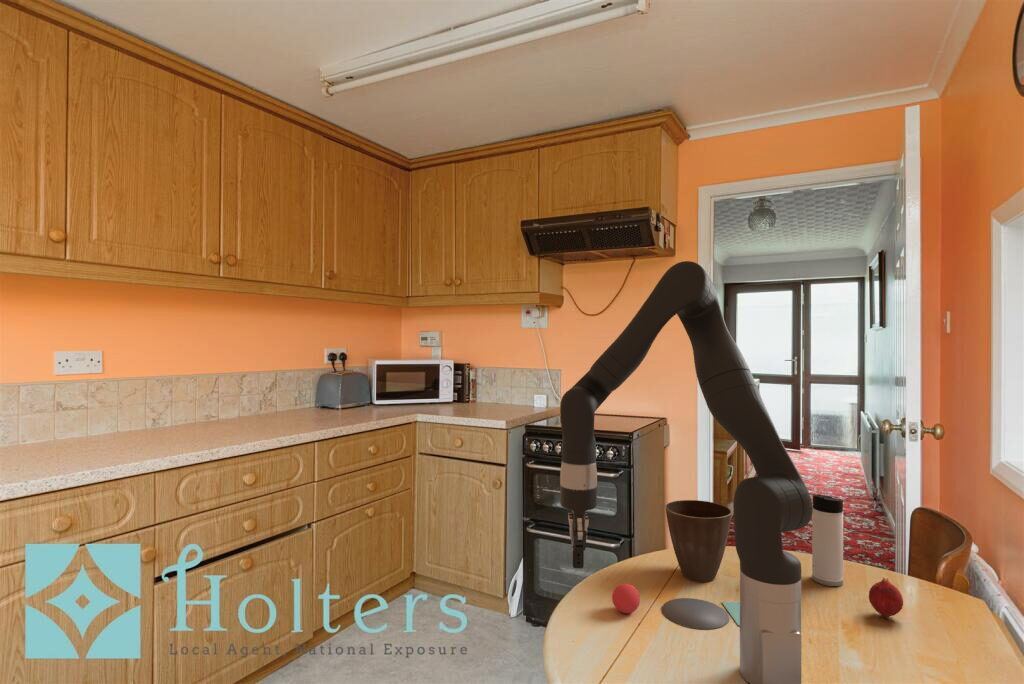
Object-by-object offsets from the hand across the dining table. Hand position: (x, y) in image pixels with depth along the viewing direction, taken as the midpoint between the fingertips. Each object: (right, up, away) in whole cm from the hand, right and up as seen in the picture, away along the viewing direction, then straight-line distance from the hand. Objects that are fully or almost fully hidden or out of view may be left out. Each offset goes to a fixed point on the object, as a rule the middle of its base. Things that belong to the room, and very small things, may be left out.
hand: (577, 566), depth 118 cm
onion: (+62, -9, -3) cm, 62 cm away
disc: (+24, -9, -1) cm, 25 cm away
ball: (+10, -6, -1) cm, 12 cm away
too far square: (+36, -9, -2) cm, 37 cm away
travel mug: (+59, -9, +14) cm, 62 cm away
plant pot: (+30, -9, +17) cm, 36 cm away
